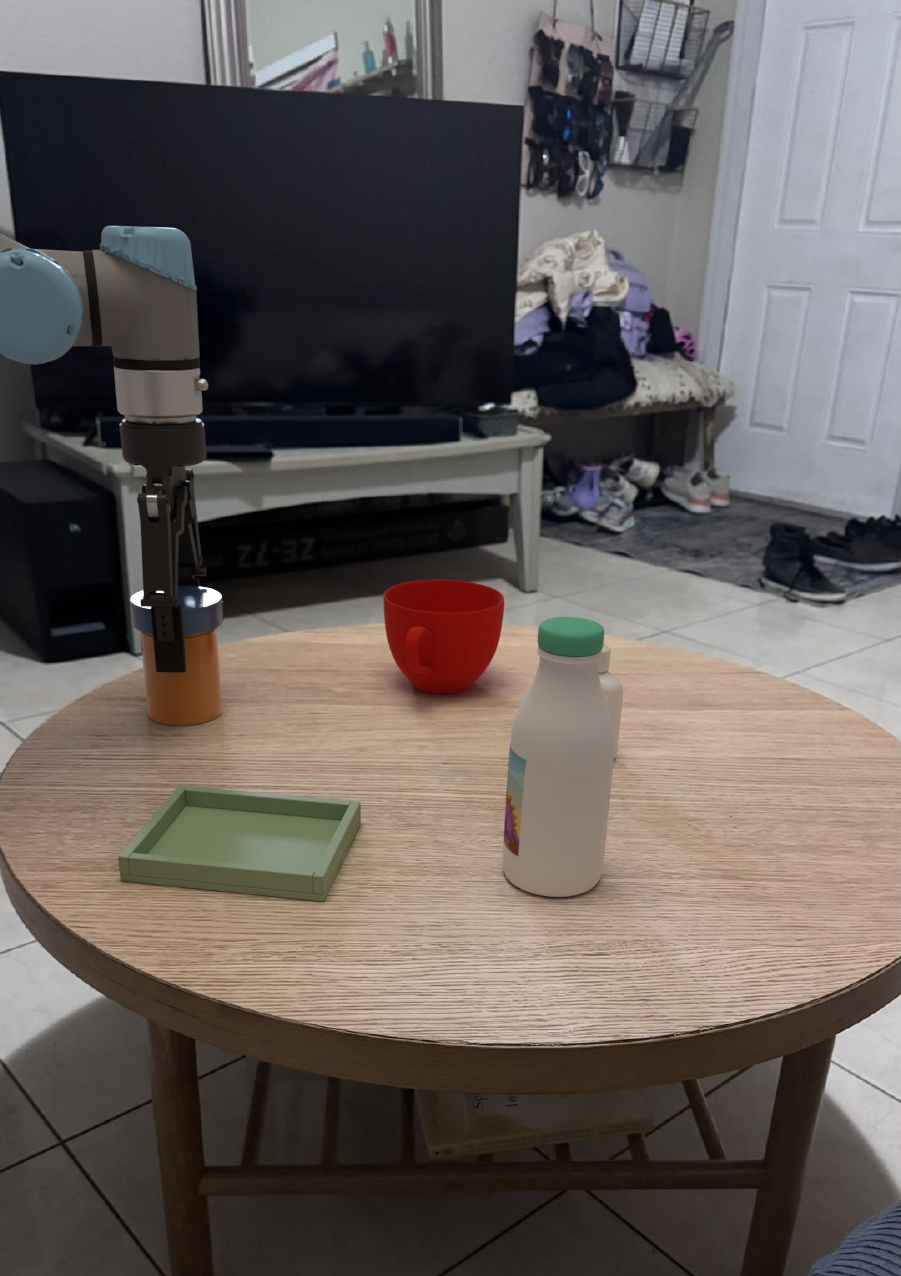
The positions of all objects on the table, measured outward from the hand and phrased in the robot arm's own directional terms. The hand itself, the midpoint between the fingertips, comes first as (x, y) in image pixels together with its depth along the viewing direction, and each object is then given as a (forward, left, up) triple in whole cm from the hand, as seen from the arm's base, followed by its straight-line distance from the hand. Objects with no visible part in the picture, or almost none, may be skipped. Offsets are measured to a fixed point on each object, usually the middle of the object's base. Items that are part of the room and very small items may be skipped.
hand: (180, 655), depth 111 cm
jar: (0, 0, -6) cm, 6 cm away
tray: (+15, -27, -6) cm, 31 cm away
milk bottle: (+39, -26, -6) cm, 47 cm away
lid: (0, 0, +6) cm, 6 cm away
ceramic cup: (+24, +12, -6) cm, 28 cm away
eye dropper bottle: (+41, -2, -6) cm, 42 cm away
